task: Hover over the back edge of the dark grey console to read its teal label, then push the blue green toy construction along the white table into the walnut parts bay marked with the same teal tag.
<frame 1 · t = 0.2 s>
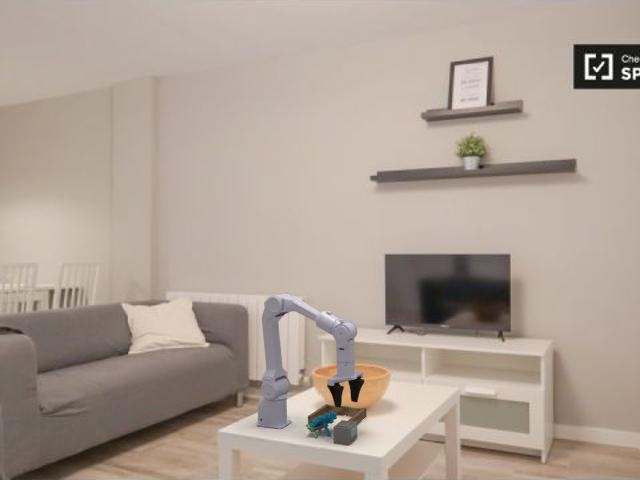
hand: (346, 404, 180), 10 cm above the table, tool pointing down, fingers open, 7 cm apart
console: (345, 440, 175), on the table
blue green toy construction: (321, 434, 182), on the table
parts bay: (337, 421, 194), on the table
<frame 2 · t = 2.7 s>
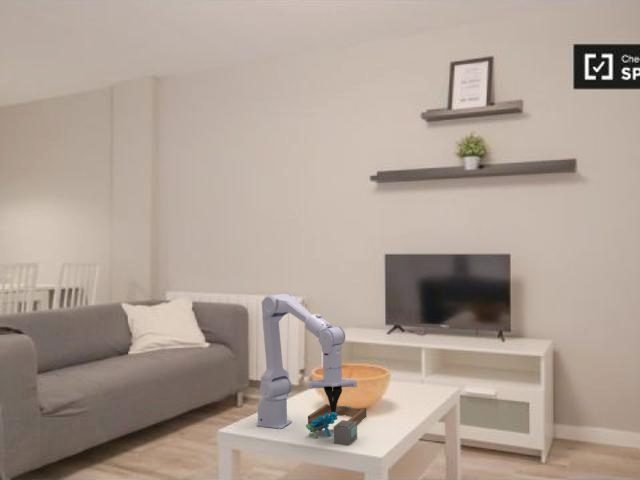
hand: (333, 411, 175), 9 cm above the table, tool pointing down, fingers closed
nothing on the table moved.
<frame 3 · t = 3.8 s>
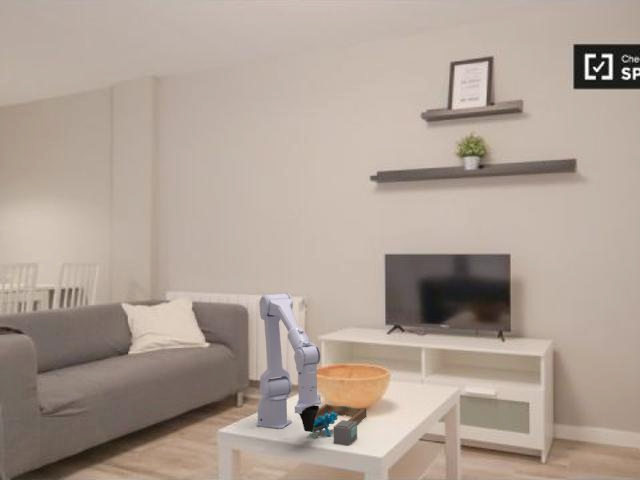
hand: (308, 430, 173), 4 cm above the table, tool pointing down, fingers closed
nothing on the table moved.
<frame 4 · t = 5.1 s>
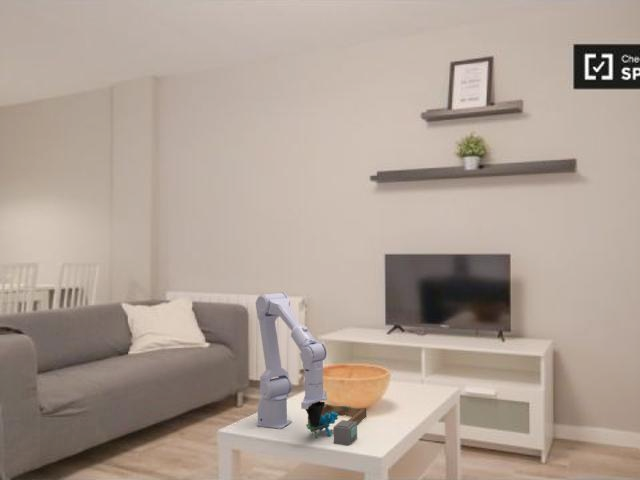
hand: (314, 426, 177), 4 cm above the table, tool pointing down, fingers closed
blue green toy construction: (322, 434, 182), on the table, touching gripper
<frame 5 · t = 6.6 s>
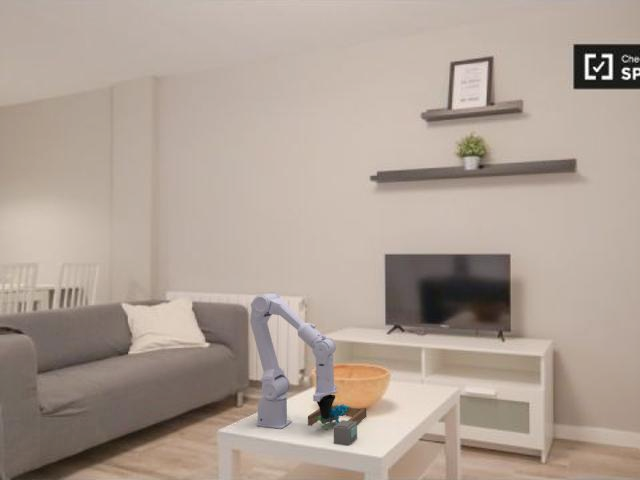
hand: (325, 418, 185), 4 cm above the table, tool pointing down, fingers closed
blue green toy construction: (332, 426, 190), on the table, touching gripper
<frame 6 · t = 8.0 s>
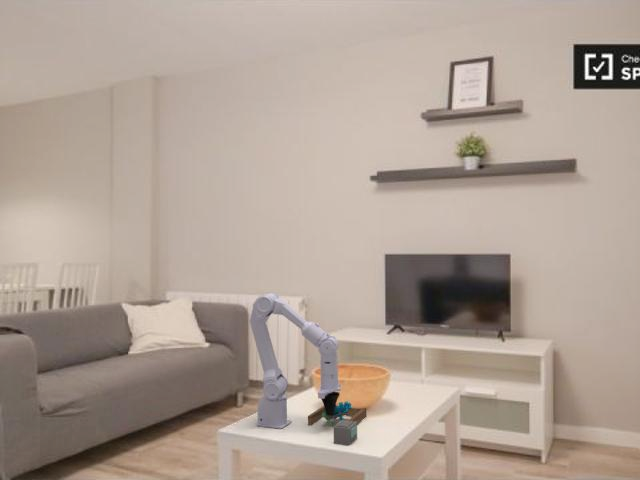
hand: (330, 415, 189), 4 cm above the table, tool pointing down, fingers closed
blue green toy construction: (336, 422, 193), on the table, touching gripper
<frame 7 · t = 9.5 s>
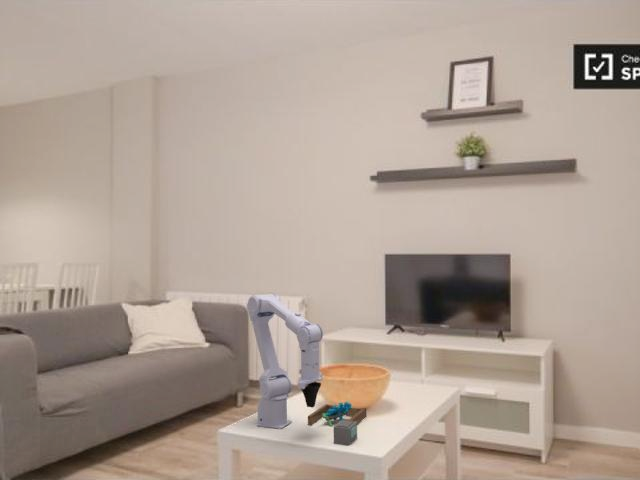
hand: (310, 406, 179), 10 cm above the table, tool pointing down, fingers closed
blue green toy construction: (337, 423, 193), on the table
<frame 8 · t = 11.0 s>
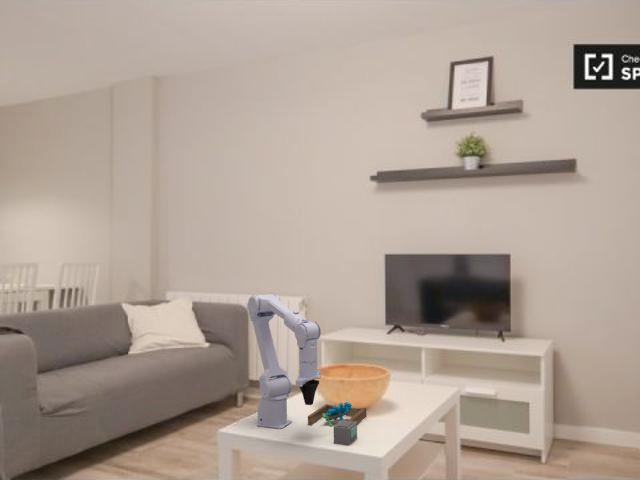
hand: (309, 404, 179), 10 cm above the table, tool pointing down, fingers closed
nothing on the table moved.
at the end: blue green toy construction inside the target area (1.6 cm from its centre), on the table; blue green toy construction moved 12.0 cm from its start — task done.
